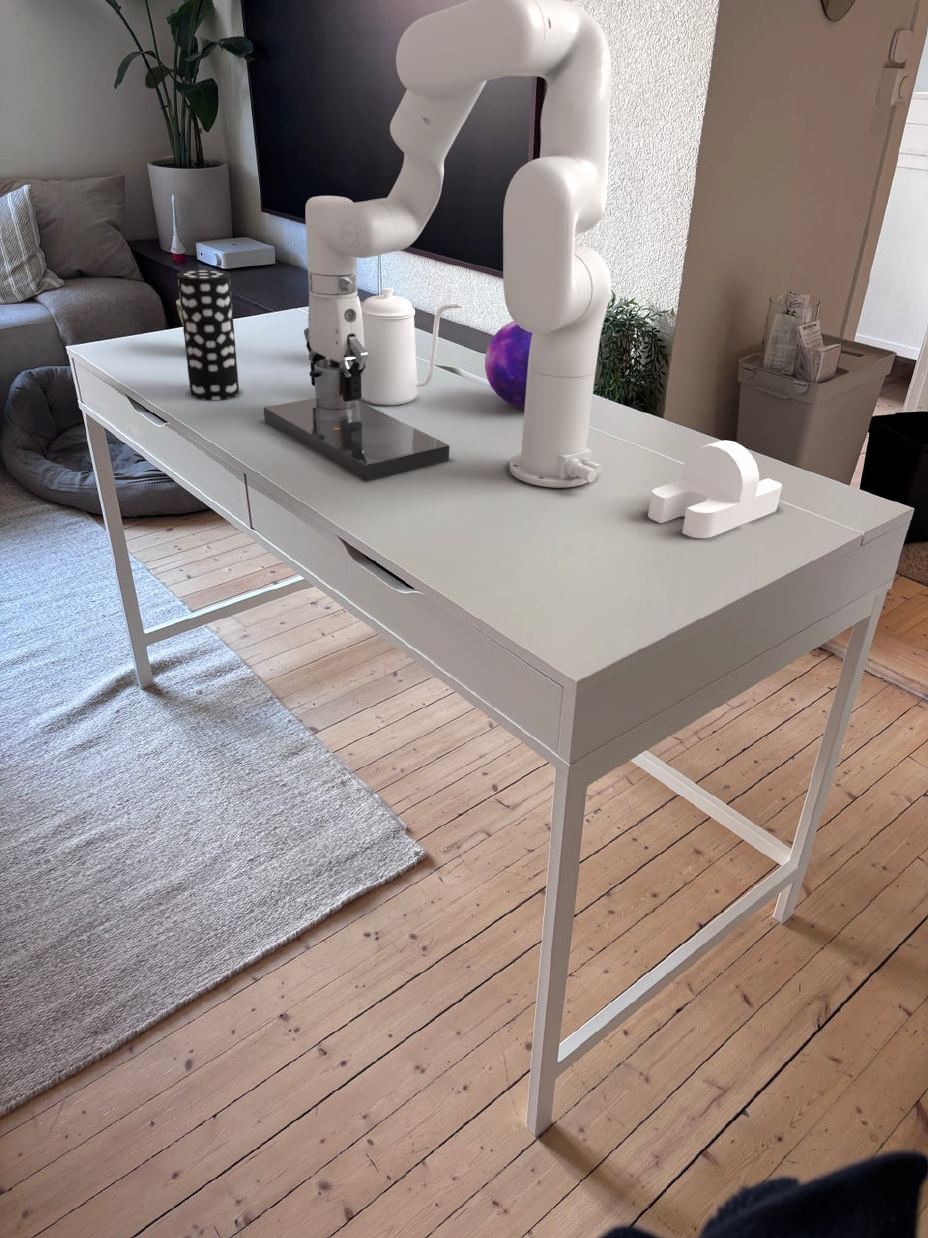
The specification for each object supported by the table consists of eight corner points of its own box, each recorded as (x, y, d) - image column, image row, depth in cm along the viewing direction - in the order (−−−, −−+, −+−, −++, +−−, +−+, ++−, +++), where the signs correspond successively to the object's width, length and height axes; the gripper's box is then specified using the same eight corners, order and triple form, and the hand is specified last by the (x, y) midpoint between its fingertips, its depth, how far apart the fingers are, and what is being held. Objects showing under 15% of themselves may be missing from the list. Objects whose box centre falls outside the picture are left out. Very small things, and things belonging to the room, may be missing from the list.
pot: (369, 404, 155) (369, 360, 151) (323, 413, 150) (321, 368, 146) (348, 394, 159) (347, 351, 155) (302, 402, 154) (300, 358, 150)
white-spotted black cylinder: (191, 401, 160) (177, 279, 150) (189, 386, 167) (177, 269, 157) (240, 399, 162) (230, 278, 152) (237, 384, 169) (227, 268, 159)
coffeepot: (456, 412, 161) (461, 299, 151) (314, 401, 163) (309, 289, 153) (462, 393, 170) (467, 286, 161) (327, 383, 172) (324, 276, 162)
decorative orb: (494, 388, 174) (499, 305, 166) (574, 398, 171) (582, 314, 163) (473, 412, 161) (477, 323, 154) (558, 423, 158) (566, 333, 150)
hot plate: (449, 460, 141) (449, 444, 140) (366, 481, 133) (365, 464, 132) (342, 406, 161) (342, 392, 160) (264, 421, 153) (263, 406, 151)
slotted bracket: (700, 541, 120) (714, 469, 115) (643, 515, 127) (654, 446, 122) (780, 509, 131) (796, 442, 126) (724, 486, 137) (737, 421, 132)
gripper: (384, 291, 141) (384, 402, 150) (324, 271, 153) (328, 375, 161) (342, 296, 137) (345, 410, 146) (283, 275, 148) (289, 382, 157)
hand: (336, 392), depth 153 cm, fingers open, 9 cm apart
